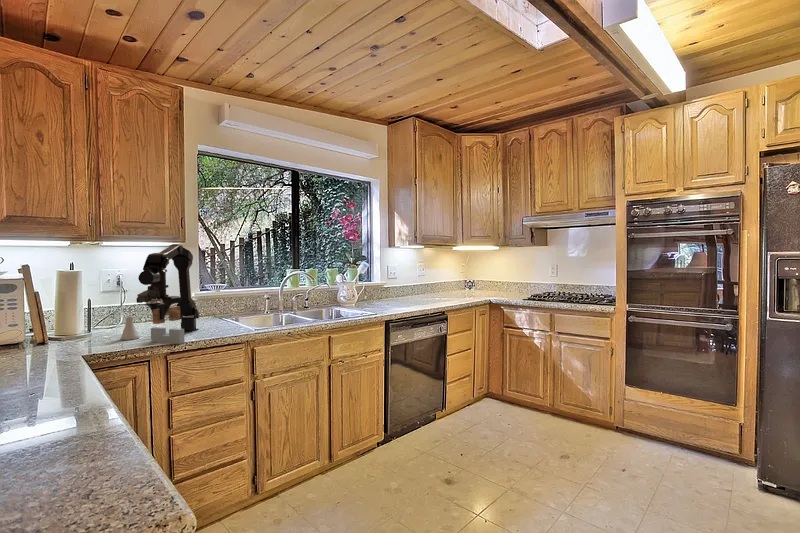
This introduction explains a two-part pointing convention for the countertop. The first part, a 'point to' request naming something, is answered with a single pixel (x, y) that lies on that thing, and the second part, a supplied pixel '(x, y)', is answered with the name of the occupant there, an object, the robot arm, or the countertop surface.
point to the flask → (129, 330)
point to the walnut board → (172, 312)
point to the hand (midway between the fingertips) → (159, 319)
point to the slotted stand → (160, 335)
